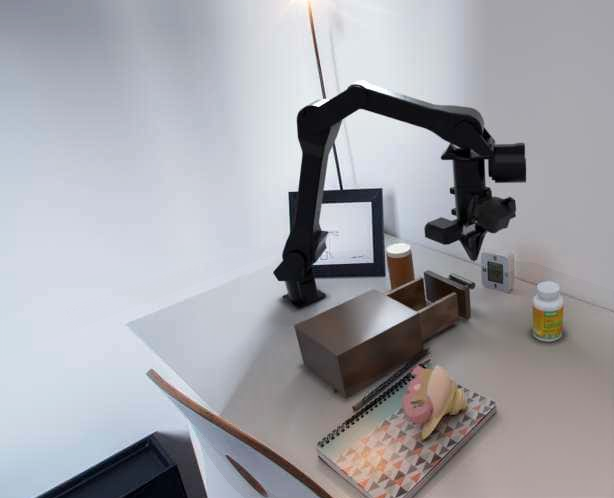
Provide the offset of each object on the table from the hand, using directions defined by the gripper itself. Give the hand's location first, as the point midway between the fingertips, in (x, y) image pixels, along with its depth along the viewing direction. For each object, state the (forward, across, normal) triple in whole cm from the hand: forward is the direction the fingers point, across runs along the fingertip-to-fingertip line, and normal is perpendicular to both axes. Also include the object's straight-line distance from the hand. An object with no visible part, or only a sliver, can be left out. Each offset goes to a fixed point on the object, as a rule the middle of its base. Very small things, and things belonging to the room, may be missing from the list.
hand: (473, 260), depth 103 cm
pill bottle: (+8, -8, +13) cm, 18 cm away
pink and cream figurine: (+9, -29, -20) cm, 36 cm away
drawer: (+8, -12, 0) cm, 14 cm away
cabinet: (+8, -27, 0) cm, 28 cm away
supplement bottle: (+9, -1, -19) cm, 21 cm away
